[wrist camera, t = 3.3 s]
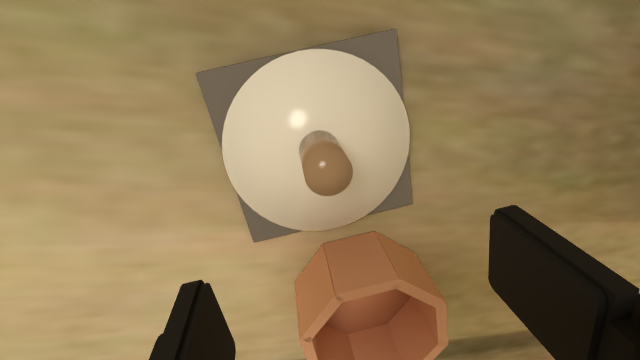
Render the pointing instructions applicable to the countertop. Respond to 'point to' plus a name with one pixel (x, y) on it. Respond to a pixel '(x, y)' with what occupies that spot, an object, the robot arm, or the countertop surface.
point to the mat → (229, 79)
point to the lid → (315, 139)
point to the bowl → (369, 303)
